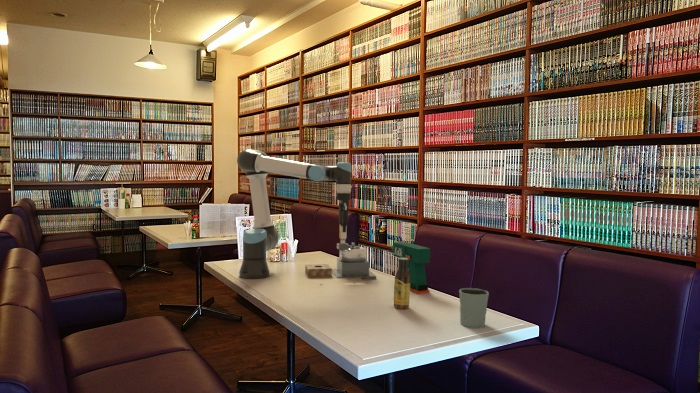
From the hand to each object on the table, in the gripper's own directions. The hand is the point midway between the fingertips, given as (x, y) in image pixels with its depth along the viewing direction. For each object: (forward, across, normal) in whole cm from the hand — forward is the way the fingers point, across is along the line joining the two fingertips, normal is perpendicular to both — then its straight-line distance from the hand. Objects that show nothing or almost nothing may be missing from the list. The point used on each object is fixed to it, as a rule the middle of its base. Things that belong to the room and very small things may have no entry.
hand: (342, 237), depth 248 cm
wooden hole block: (+20, 0, +12) cm, 23 cm away
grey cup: (+20, -85, -32) cm, 93 cm away
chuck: (+11, 0, -5) cm, 12 cm away
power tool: (+20, -25, -26) cm, 41 cm away
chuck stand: (+20, 0, -6) cm, 20 cm away
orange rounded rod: (+5, 0, 0) cm, 5 cm away
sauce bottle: (+20, -61, -12) cm, 65 cm away
